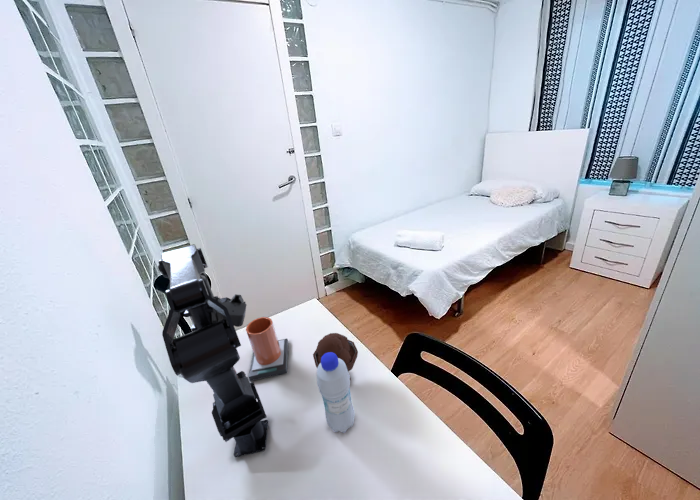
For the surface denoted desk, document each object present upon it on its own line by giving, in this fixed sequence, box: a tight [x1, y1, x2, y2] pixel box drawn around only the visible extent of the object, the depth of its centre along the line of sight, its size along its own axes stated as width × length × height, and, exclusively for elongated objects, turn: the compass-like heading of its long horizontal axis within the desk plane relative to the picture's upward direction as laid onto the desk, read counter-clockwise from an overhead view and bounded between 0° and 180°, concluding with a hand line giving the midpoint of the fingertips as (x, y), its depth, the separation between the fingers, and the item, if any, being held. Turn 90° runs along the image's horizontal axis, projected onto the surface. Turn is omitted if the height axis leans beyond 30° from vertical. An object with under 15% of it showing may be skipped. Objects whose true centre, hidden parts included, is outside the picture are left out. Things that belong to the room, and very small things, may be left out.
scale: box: [247, 338, 289, 382], centre depth 80 cm, size 12×10×2 cm
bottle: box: [316, 352, 355, 434], centre depth 58 cm, size 7×7×20 cm
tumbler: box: [245, 316, 281, 365], centre depth 78 cm, size 7×7×11 cm
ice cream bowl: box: [312, 332, 359, 381], centre depth 69 cm, size 11×11×15 cm
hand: (221, 353), depth 67 cm, fingers open, 9 cm apart
